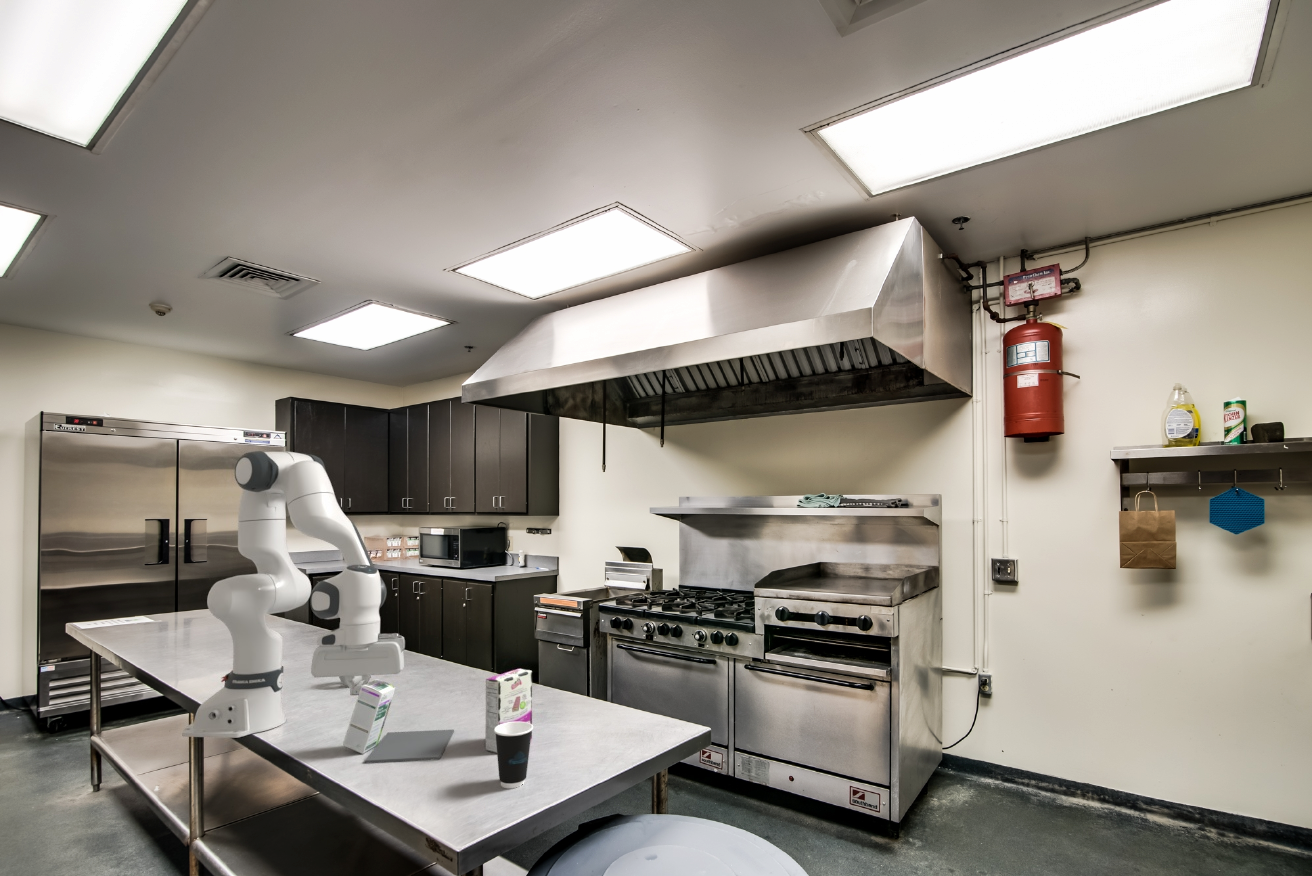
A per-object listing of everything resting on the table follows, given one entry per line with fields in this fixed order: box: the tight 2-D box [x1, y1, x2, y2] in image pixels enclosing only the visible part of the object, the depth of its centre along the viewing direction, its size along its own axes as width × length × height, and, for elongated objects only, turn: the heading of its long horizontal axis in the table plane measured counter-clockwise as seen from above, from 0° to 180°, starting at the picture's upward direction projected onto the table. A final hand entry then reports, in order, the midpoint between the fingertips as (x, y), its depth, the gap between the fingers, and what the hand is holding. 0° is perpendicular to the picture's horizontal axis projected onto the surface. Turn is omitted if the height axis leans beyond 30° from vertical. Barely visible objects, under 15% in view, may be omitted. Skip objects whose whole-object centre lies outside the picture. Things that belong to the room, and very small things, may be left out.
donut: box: [338, 676, 364, 687], centre depth 206 cm, size 10×4×10 cm, turn 152°
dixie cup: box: [494, 722, 534, 789], centre depth 133 cm, size 8×8×11 cm
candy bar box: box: [484, 668, 533, 754], centre depth 155 cm, size 11×5×16 cm, turn 148°
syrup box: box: [342, 678, 396, 755], centre depth 152 cm, size 6×6×14 cm
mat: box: [364, 729, 455, 764], centre depth 153 cm, size 16×18×1 cm
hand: (357, 694), depth 153 cm, fingers closed
